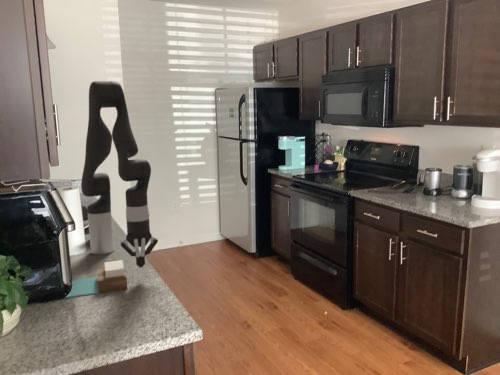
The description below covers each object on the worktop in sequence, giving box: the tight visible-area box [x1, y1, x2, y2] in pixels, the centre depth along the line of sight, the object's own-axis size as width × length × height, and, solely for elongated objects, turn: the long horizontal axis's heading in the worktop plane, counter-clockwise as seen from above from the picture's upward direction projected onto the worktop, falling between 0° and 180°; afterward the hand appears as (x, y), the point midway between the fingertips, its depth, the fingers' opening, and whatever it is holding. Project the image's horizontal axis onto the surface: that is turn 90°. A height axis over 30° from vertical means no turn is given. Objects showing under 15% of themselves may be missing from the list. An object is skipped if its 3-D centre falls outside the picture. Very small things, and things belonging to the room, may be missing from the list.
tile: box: [104, 259, 125, 278], centre depth 148 cm, size 9×6×2 cm, turn 20°
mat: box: [64, 276, 100, 299], centre depth 145 cm, size 14×10×1 cm
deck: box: [96, 264, 128, 294], centre depth 148 cm, size 13×9×4 cm
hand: (140, 266), depth 151 cm, fingers closed
